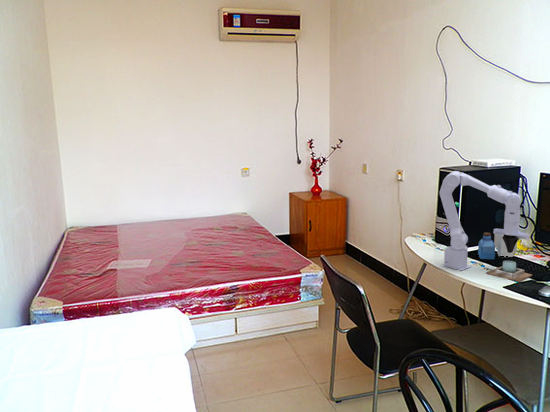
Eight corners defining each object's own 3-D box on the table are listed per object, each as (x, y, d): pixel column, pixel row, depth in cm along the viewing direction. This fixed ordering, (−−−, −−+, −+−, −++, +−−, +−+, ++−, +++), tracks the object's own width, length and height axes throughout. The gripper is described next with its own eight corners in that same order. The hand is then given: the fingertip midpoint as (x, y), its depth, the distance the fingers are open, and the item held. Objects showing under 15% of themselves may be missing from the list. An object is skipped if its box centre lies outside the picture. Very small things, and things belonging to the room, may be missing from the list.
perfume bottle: (480, 258, 211) (481, 234, 208) (477, 255, 217) (478, 231, 214) (494, 259, 209) (495, 235, 207) (491, 255, 215) (492, 231, 213)
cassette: (517, 252, 218) (518, 237, 217) (515, 252, 217) (515, 237, 216) (495, 246, 229) (496, 232, 227) (493, 247, 228) (493, 233, 226)
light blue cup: (500, 273, 189) (500, 262, 188) (506, 270, 192) (506, 259, 191) (511, 276, 185) (512, 265, 184) (517, 273, 188) (518, 262, 187)
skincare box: (509, 254, 215) (510, 230, 213) (513, 257, 211) (514, 233, 209) (496, 254, 216) (497, 231, 213) (500, 257, 212) (501, 233, 209)
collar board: (486, 273, 191) (486, 268, 191) (499, 267, 197) (499, 263, 197) (519, 282, 180) (519, 277, 179) (532, 275, 186) (532, 270, 186)
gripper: (490, 220, 190) (488, 250, 193) (524, 226, 178) (522, 257, 181) (498, 217, 194) (497, 247, 197) (533, 223, 182) (531, 254, 185)
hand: (510, 252), depth 189 cm, fingers closed
